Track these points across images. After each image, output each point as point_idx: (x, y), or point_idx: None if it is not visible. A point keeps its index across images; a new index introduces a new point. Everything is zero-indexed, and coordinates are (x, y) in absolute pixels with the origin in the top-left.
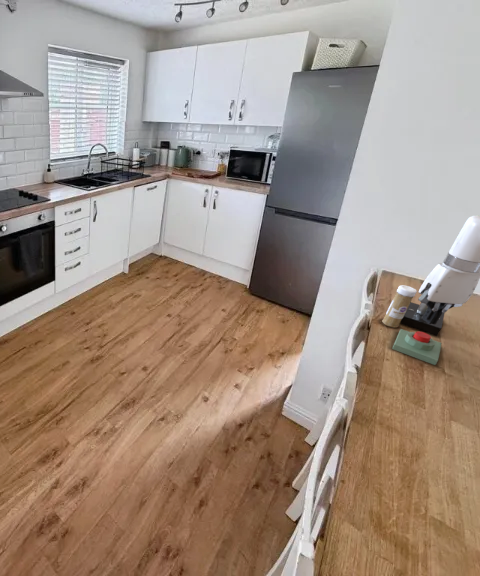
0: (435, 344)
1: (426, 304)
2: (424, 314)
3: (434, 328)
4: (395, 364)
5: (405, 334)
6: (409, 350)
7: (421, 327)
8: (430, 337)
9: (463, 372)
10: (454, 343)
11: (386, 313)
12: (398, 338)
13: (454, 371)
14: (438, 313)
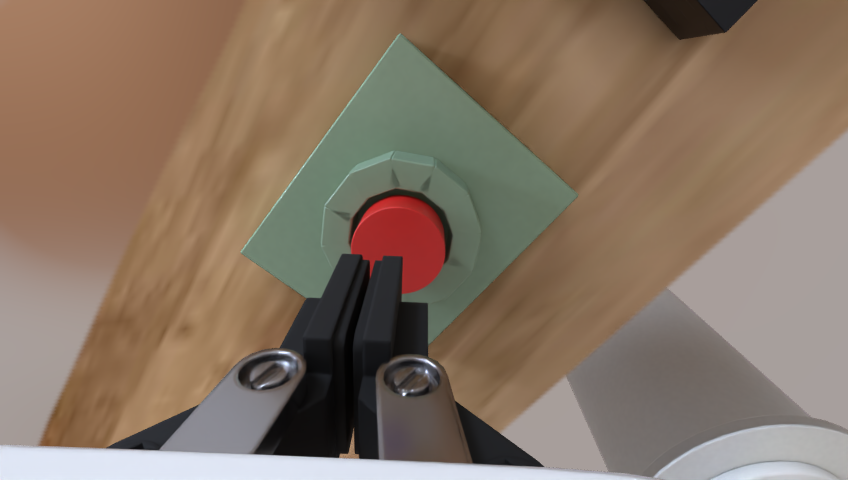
0: (517, 220)
1: (188, 416)
2: (299, 316)
3: (689, 6)
4: (209, 360)
5: (383, 120)
6: (305, 295)
7: None
8: (429, 280)
9: (512, 381)
10: (729, 121)
11: None
12: (301, 181)
13: (472, 378)
14: (358, 445)
